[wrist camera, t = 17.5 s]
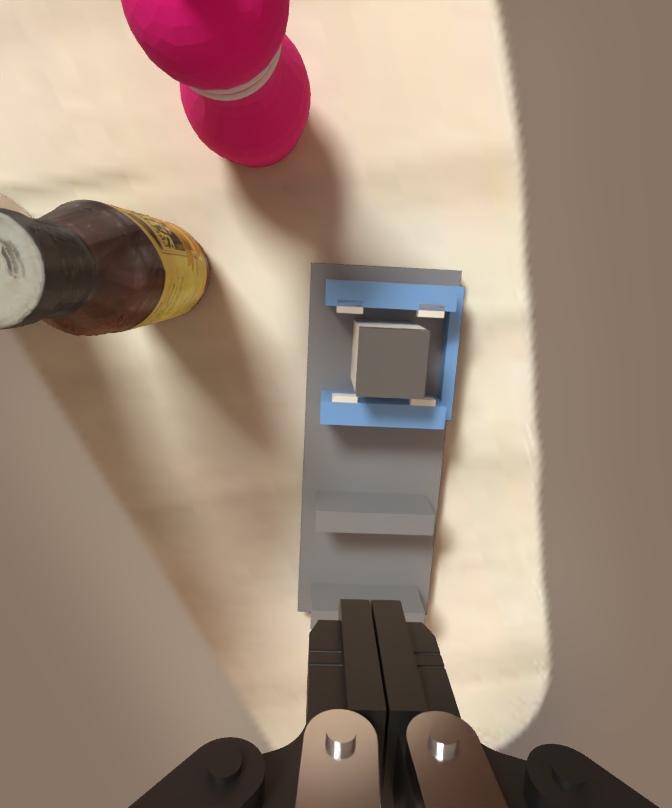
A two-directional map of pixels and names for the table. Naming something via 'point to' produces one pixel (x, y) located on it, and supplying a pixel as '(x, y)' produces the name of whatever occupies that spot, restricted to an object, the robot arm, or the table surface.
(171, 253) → the sauce bottle
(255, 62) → the pepper mill
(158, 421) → the table surface
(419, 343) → the grey block
